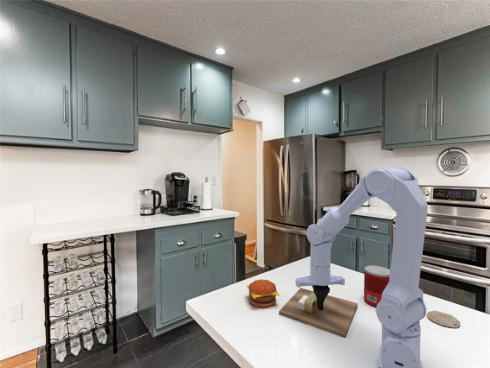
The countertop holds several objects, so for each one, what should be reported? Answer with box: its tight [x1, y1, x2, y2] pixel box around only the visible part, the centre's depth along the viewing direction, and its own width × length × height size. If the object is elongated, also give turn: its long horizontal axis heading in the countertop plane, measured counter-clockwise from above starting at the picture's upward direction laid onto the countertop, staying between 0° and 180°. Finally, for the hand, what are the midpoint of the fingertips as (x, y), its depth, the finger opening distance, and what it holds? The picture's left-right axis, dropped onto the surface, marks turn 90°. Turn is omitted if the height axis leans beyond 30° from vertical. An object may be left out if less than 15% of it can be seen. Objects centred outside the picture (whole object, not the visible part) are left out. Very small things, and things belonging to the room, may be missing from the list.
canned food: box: [363, 265, 390, 308], centre depth 81 cm, size 8×8×11 cm
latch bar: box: [304, 289, 317, 313], centre depth 77 cm, size 10×3×4 cm, turn 144°
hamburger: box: [246, 279, 280, 309], centre depth 82 cm, size 9×10×7 cm
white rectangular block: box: [298, 295, 309, 310], centre depth 77 cm, size 5×2×2 cm, turn 146°
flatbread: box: [426, 310, 461, 329], centre depth 72 cm, size 8×8×1 cm
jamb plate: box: [278, 287, 359, 338], centre depth 77 cm, size 18×19×1 cm
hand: (319, 308), depth 74 cm, fingers closed
